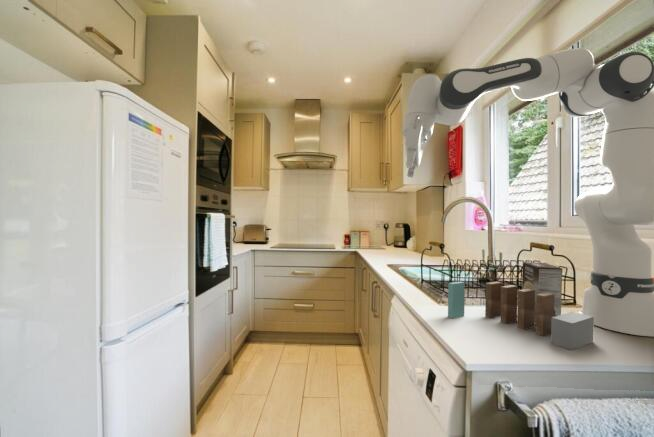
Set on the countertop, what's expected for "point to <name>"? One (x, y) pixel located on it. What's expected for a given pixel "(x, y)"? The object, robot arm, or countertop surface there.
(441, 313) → the countertop surface
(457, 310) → the domino
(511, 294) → the domino
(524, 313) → the domino
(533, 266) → the coffee box
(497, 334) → the countertop surface
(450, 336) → the countertop surface
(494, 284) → the domino
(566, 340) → the end block
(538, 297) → the domino
